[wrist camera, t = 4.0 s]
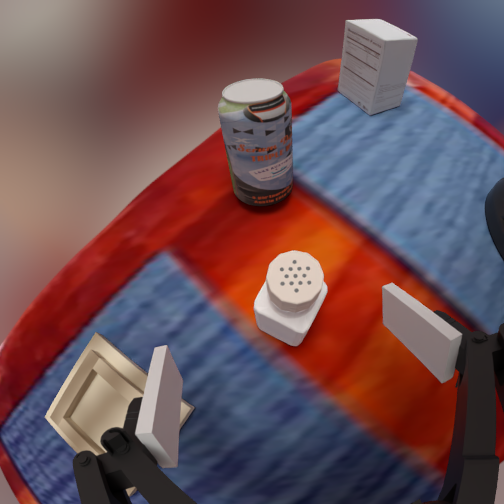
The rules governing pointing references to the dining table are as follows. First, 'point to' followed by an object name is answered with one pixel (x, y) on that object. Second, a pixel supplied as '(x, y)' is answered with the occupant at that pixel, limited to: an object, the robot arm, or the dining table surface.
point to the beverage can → (258, 140)
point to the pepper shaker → (290, 297)
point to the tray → (99, 397)
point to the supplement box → (375, 64)
